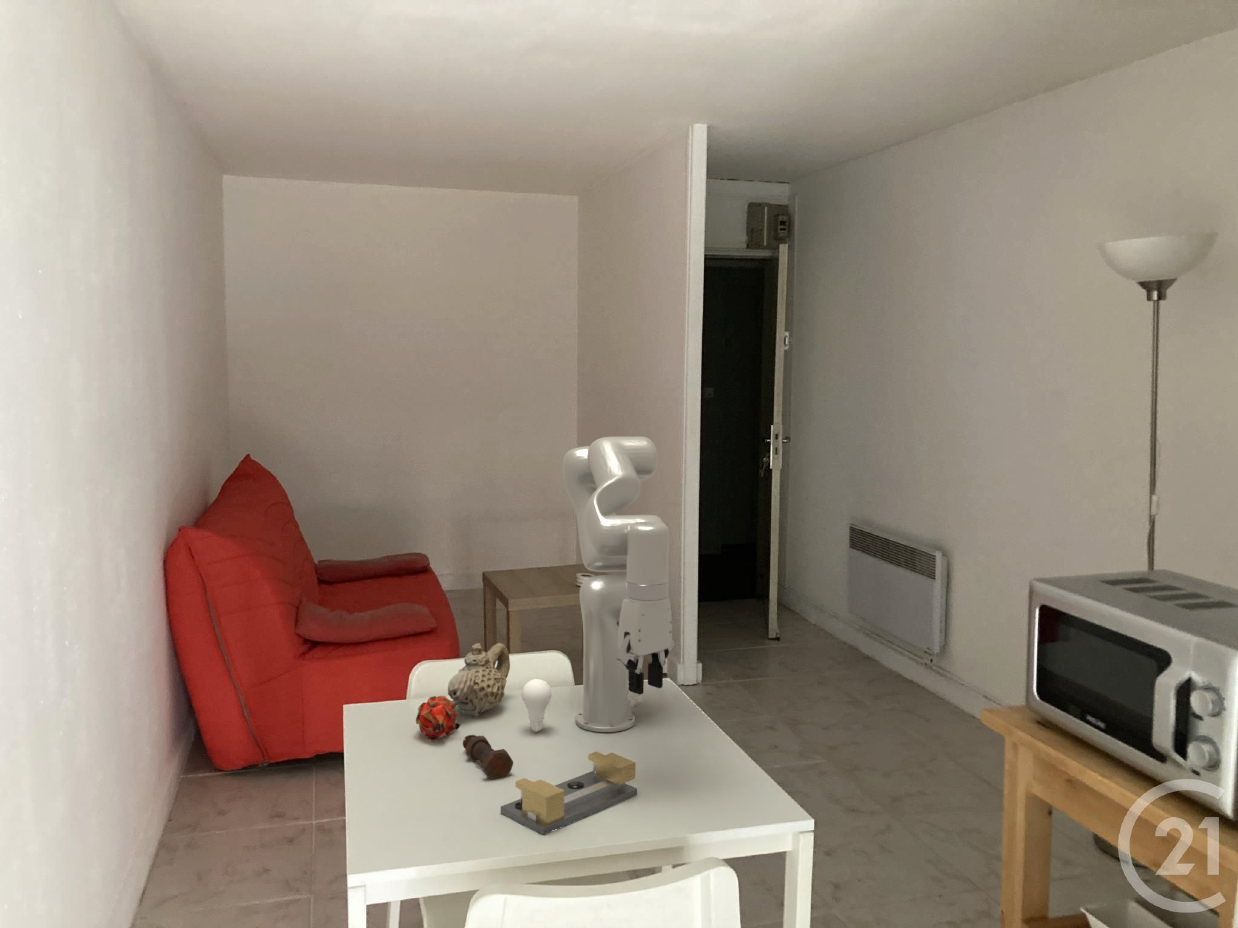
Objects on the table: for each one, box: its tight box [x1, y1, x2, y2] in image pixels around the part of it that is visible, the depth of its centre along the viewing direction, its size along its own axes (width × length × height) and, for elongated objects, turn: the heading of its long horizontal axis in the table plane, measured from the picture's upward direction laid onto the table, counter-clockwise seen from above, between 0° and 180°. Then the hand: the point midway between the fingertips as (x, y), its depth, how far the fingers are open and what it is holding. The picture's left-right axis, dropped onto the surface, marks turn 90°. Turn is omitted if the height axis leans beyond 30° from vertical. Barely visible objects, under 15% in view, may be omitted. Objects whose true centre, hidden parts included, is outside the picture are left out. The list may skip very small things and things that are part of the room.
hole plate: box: [500, 770, 638, 836], centre depth 176 cm, size 22×11×6 cm, turn 135°
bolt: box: [462, 734, 514, 781], centre depth 193 cm, size 6×5×15 cm
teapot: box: [447, 642, 511, 717], centre depth 221 cm, size 21×12×15 cm, turn 155°
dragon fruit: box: [415, 695, 462, 742], centre depth 207 cm, size 8×8×12 cm
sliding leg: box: [587, 751, 637, 785], centre depth 182 cm, size 4×9×4 cm, turn 45°
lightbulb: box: [521, 678, 552, 733], centre depth 209 cm, size 6×6×11 cm
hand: (645, 688), depth 185 cm, fingers open, 4 cm apart
